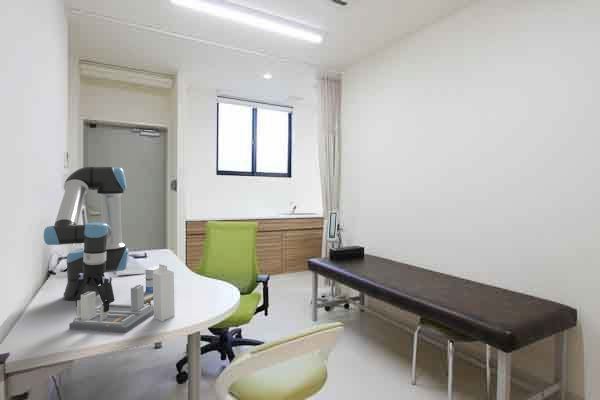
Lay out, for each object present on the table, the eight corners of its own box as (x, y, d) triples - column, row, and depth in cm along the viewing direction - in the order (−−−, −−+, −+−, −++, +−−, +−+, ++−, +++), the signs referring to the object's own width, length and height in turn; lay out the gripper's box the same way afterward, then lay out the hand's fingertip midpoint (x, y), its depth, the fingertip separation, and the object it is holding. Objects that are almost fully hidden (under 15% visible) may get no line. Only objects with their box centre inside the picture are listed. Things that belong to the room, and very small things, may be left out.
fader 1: (81, 320, 122) (80, 294, 121) (89, 315, 126) (88, 291, 125) (88, 320, 121) (87, 294, 121) (96, 316, 125) (95, 291, 125)
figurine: (129, 314, 138) (164, 300, 145) (126, 304, 137) (162, 291, 144) (129, 311, 141) (163, 298, 148) (126, 302, 141) (161, 289, 148)
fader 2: (131, 311, 130) (130, 287, 129) (137, 308, 134) (137, 284, 133) (137, 312, 129) (137, 287, 129) (144, 308, 133) (143, 284, 133)
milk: (167, 313, 134) (166, 262, 133) (174, 316, 131) (174, 264, 130) (153, 317, 129) (152, 265, 129) (161, 321, 126) (160, 267, 125)
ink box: (153, 292, 160) (153, 269, 160) (145, 291, 161) (144, 269, 161) (164, 287, 169) (163, 265, 168) (156, 286, 170) (155, 265, 169)
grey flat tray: (69, 328, 119) (69, 320, 119) (108, 308, 139) (108, 301, 139) (126, 332, 116) (126, 323, 116) (158, 311, 136) (157, 303, 136)
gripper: (61, 260, 120) (58, 316, 121) (113, 268, 116) (109, 326, 118) (77, 256, 127) (75, 309, 129) (127, 263, 124) (124, 317, 125)
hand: (91, 317), depth 123 cm, fingers closed on grey flat tray, 10 cm apart
